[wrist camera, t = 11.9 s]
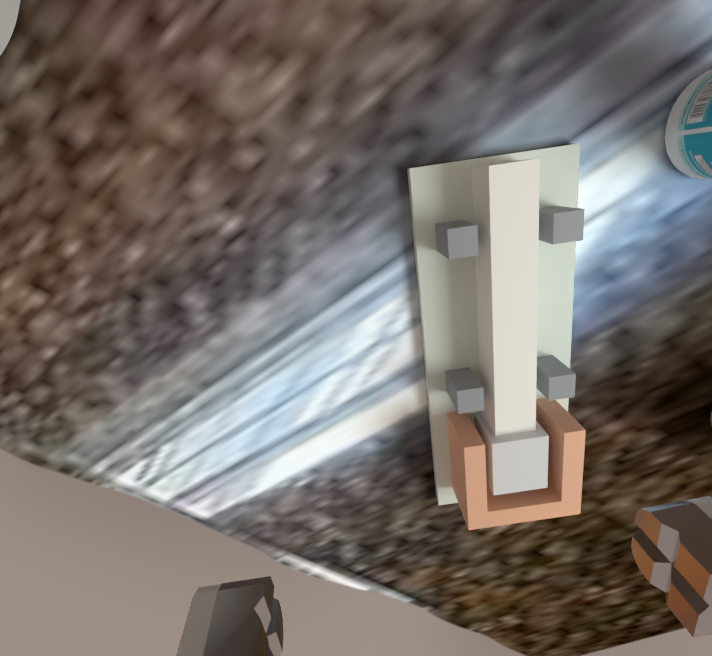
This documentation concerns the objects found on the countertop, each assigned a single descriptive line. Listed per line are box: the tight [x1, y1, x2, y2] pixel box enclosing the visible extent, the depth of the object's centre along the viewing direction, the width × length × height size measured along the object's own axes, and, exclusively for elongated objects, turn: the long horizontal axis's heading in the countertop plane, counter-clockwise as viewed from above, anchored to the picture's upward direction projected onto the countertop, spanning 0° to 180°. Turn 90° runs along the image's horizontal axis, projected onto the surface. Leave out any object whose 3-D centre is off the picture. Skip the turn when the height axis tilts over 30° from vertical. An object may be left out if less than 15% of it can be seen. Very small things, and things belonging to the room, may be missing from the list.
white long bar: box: [471, 158, 549, 495], centre depth 31 cm, size 25×4×4 cm, turn 8°
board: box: [407, 143, 586, 530], centre depth 32 cm, size 30×12×6 cm, turn 8°
